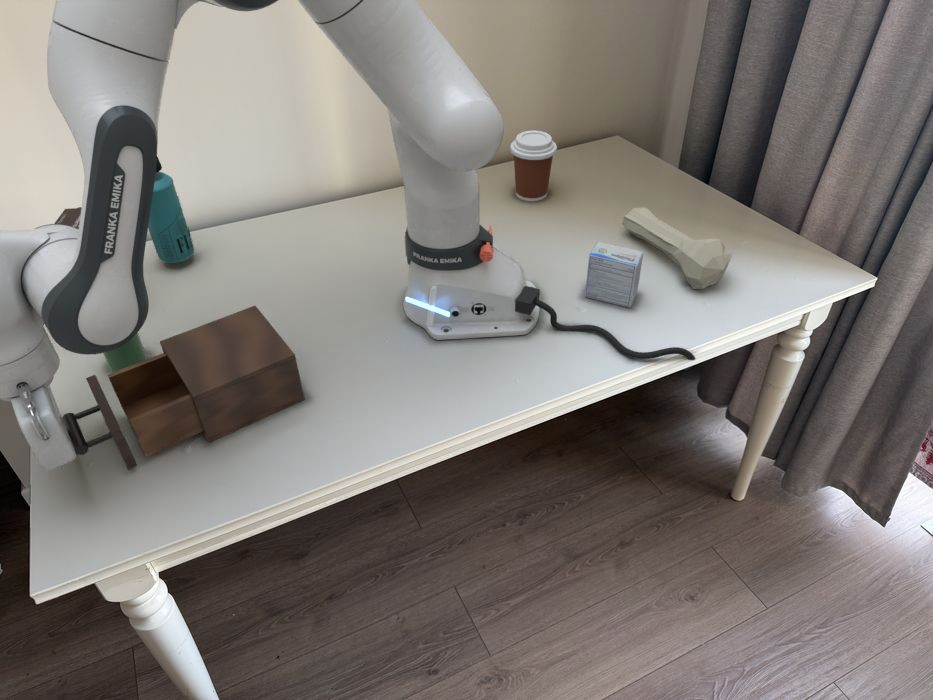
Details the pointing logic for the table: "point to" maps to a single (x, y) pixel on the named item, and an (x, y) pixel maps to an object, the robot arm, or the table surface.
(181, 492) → the table surface
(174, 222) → the beverage bottle
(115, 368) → the green can
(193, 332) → the cabinet
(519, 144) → the coffee cup
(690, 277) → the faceted club
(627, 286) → the medicine box
